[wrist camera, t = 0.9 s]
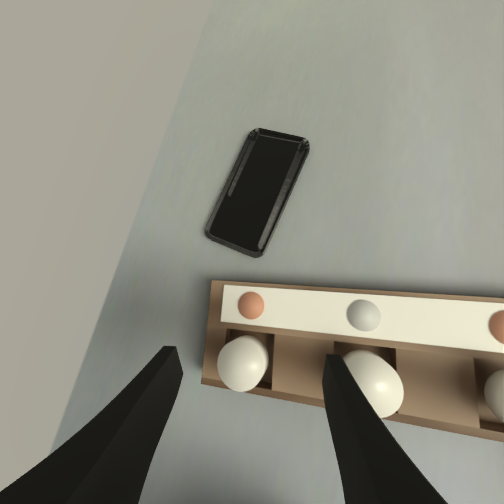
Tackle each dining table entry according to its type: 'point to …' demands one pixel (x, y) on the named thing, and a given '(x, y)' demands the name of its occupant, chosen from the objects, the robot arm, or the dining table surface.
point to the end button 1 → (242, 363)
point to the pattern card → (370, 316)
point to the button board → (393, 352)
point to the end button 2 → (495, 393)
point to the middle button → (376, 381)
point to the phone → (257, 191)
